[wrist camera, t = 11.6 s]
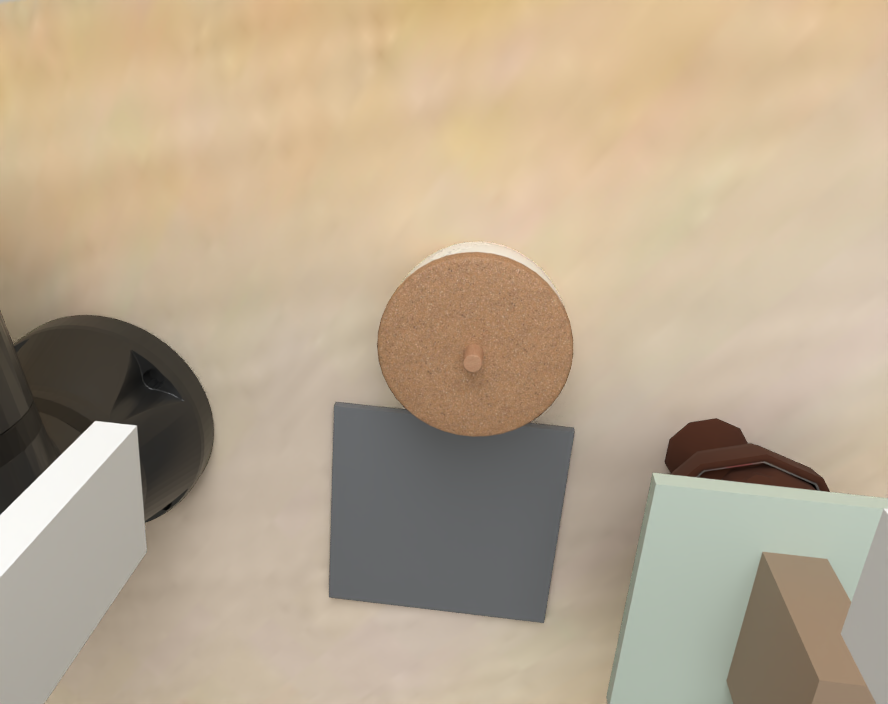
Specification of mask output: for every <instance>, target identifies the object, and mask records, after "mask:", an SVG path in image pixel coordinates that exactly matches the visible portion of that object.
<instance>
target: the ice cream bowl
mask: <svg viewBox="0 0 888 704" xmlns="http://www.w3.org/2000/svg"><path fill="white" fill-rule="evenodd" d="M665 463H666V465H667V467H668V469H669V470H670V472H671V474H669V475H679V476H688V477H697V478H706V479H715V480H724V481H733V482H743V483H752V484H761V485H770V486H779V487H788V488H797V489H807V490H816V491H825V492H830V491H829V489H828V487H827V485H826V483H825V481H824V479H823V478H822V477H821V476H820V475H818V474H817V473H816V472H815V471H813V470H812V469H811V468H809V467H807V466H805V465H802V464H800V463H798V462H795V461H793V460H791V459H788V458H786V457H784V456H781V455H779V454H777V453H774V452H772V451H770V450H767V449H765V448H763V447H760V446H758V445H754V444H751V443H749V444H748V443H747V441H746V439H745V437H744V435H743V434H742V432H741V430H740V428H737V427H735V426H733V425H730V424H728V423H726V422H724V421H721V420H719V419H717V418H716V419H710V420H703V421H697V422H691V423H689V424H687V425H686V426H685V427H684V428H683V429H681V430H680V431H679V432H678V433H677V434H676V435H674V436H673V437H672V438H671V439H670V441H669V445H668V449H667V454H666V458H665Z"/></svg>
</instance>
